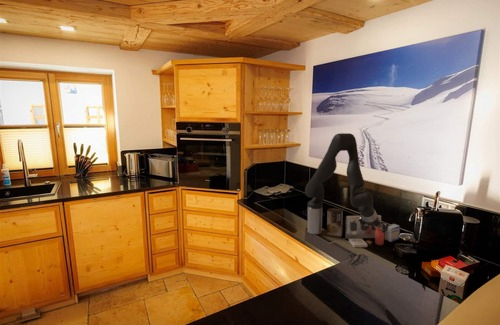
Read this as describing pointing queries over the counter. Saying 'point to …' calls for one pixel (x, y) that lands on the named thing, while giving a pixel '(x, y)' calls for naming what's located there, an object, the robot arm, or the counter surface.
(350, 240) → the lockout socket
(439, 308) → the counter surface
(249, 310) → the counter surface
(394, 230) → the medicine box
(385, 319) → the counter surface
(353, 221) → the breaker panel
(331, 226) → the coffee box
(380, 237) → the cap
